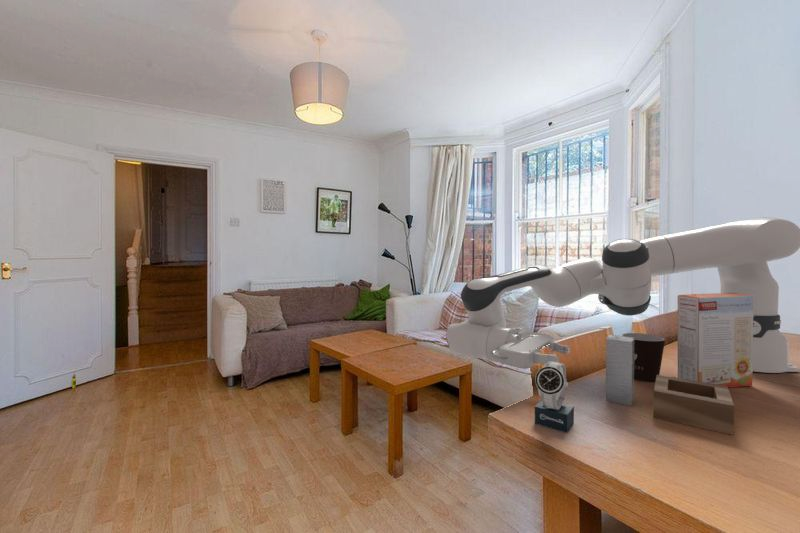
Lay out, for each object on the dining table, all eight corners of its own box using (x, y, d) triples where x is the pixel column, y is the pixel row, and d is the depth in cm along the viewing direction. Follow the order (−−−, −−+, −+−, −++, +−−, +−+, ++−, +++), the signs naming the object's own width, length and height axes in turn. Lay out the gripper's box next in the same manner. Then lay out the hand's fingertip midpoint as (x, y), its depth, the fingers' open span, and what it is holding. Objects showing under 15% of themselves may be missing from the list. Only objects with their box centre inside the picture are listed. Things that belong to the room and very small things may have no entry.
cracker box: (726, 377, 87) (728, 292, 86) (753, 387, 81) (756, 294, 80) (674, 380, 85) (676, 293, 84) (698, 390, 79) (700, 296, 78)
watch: (530, 427, 64) (531, 366, 63) (545, 411, 70) (545, 355, 69) (564, 437, 60) (565, 372, 60) (576, 419, 66) (577, 361, 66)
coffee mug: (671, 384, 83) (672, 341, 82) (630, 382, 85) (631, 340, 84) (647, 368, 94) (648, 331, 94) (611, 366, 96) (612, 329, 96)
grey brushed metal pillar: (609, 393, 78) (609, 334, 78) (633, 398, 75) (634, 337, 75) (605, 400, 74) (606, 338, 74) (631, 406, 72) (632, 341, 71)
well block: (656, 397, 75) (656, 374, 75) (726, 411, 69) (727, 386, 68) (653, 417, 67) (653, 390, 67) (733, 435, 60) (734, 405, 60)
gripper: (487, 341, 82) (550, 351, 73) (519, 326, 98) (574, 332, 89) (487, 368, 82) (550, 381, 73) (519, 349, 98) (573, 357, 89)
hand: (563, 354), depth 81 cm, fingers open, 8 cm apart
